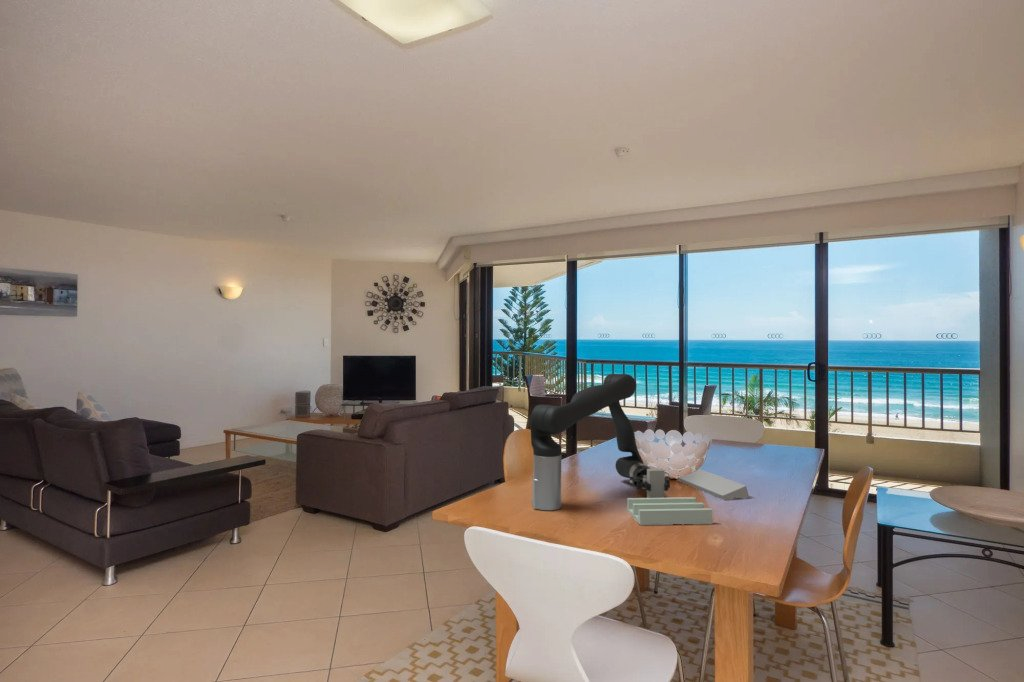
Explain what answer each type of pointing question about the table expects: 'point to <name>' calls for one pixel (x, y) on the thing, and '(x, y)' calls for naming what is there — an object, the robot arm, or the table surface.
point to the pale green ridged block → (668, 511)
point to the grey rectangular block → (656, 483)
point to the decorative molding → (715, 485)
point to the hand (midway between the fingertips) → (658, 487)
